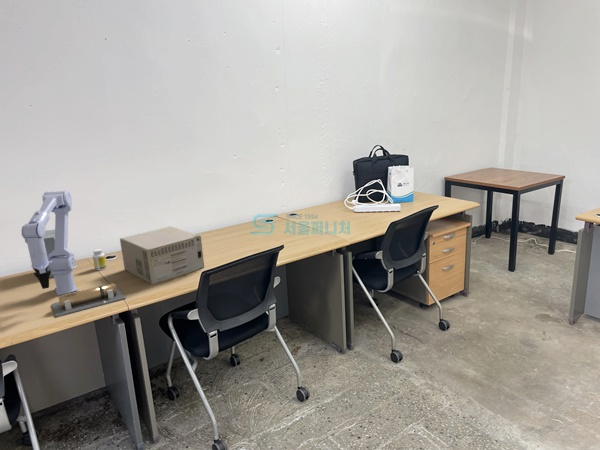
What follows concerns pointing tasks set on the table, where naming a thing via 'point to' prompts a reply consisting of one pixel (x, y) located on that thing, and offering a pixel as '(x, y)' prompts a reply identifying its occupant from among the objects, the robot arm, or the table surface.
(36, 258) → the robot arm
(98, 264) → the supplement bottle
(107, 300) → the gray cradle stand
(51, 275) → the hard drive box
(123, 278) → the table surface
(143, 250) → the beige vented electronics case
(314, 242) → the table surface
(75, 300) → the brass tube
